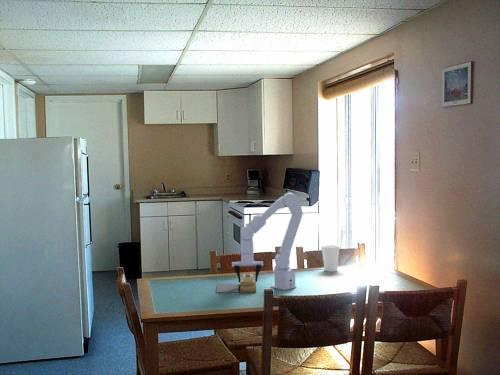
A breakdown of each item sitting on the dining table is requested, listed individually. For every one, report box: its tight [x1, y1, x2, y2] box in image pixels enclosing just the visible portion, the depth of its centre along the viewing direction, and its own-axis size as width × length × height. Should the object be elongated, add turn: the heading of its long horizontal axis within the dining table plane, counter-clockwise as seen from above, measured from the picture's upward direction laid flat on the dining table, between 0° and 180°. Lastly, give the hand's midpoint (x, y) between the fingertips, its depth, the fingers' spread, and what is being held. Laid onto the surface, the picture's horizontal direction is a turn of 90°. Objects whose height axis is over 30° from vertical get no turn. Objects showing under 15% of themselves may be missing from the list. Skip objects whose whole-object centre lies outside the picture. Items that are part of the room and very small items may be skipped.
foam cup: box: [320, 243, 341, 272], centre depth 309 cm, size 10×9×13 cm
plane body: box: [239, 278, 257, 294], centre depth 272 cm, size 18×7×2 cm, turn 1°
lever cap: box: [242, 273, 254, 285], centre depth 272 cm, size 7×4×4 cm, turn 1°
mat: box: [215, 283, 240, 294], centre depth 272 cm, size 16×10×1 cm, turn 1°
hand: (247, 281), depth 272 cm, fingers open, 7 cm apart
